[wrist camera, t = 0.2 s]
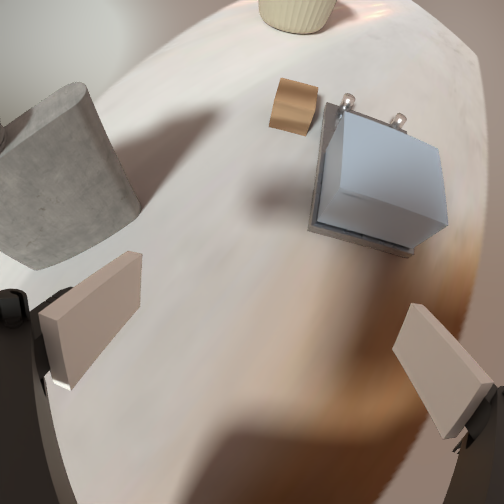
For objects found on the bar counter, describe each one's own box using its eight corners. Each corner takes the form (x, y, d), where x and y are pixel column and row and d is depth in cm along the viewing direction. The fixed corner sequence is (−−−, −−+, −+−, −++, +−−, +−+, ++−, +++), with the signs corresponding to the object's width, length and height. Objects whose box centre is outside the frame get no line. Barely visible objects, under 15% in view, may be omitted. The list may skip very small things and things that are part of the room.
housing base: (407, 258, 32) (428, 245, 28) (307, 230, 32) (319, 212, 28) (402, 137, 39) (415, 119, 35) (323, 109, 39) (332, 87, 35)
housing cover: (412, 248, 31) (448, 225, 24) (317, 221, 31) (340, 187, 24) (410, 178, 34) (438, 148, 28) (326, 149, 34) (344, 111, 27)
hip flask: (136, 193, 32) (74, 50, 13) (147, 222, 31) (78, 77, 12) (26, 251, 28) (-84, 167, 10) (32, 281, 27) (-93, 209, 9)
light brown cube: (305, 136, 37) (315, 111, 32) (268, 127, 37) (274, 100, 32) (309, 112, 39) (318, 87, 34) (275, 103, 38) (280, 77, 34)
